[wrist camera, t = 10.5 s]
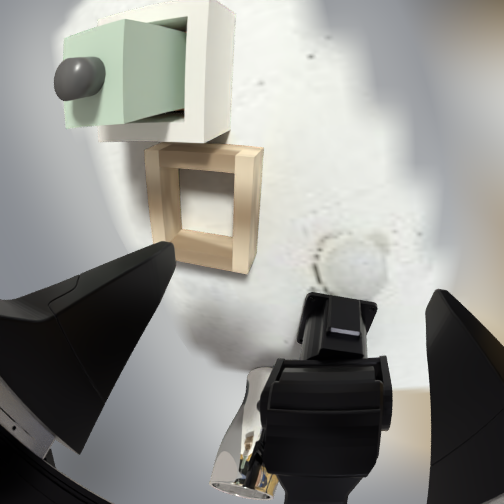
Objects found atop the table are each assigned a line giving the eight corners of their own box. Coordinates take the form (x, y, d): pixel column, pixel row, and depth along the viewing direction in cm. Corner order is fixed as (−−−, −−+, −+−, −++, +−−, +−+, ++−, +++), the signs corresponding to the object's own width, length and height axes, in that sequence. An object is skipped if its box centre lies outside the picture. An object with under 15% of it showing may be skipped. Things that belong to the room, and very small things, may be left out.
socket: (230, 130, 20) (203, 143, 16) (138, 128, 21) (98, 142, 17) (235, 13, 15) (209, -5, 11) (138, 25, 17) (97, 19, 12)
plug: (195, 105, 18) (102, 130, 10) (145, 107, 19) (45, 136, 11) (198, 36, 15) (102, 15, 7) (146, 42, 16) (42, 39, 8)
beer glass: (249, 393, 37) (217, 492, 25) (238, 362, 34) (197, 476, 21) (301, 397, 35) (278, 503, 23) (297, 365, 32) (270, 491, 19)
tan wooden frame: (256, 253, 25) (247, 274, 23) (170, 238, 26) (155, 256, 24) (263, 147, 20) (254, 157, 18) (164, 141, 22) (144, 150, 19)
